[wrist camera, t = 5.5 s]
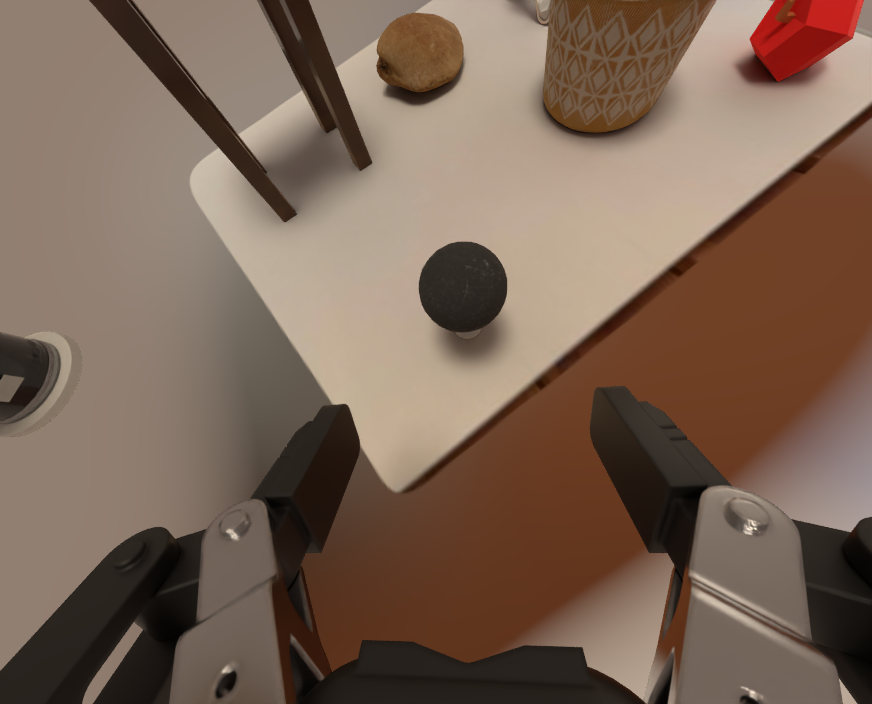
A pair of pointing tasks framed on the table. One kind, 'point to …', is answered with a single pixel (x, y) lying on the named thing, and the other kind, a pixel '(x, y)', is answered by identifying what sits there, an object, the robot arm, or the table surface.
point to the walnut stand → (309, 63)
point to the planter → (614, 57)
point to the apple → (803, 33)
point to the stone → (419, 52)
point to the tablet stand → (543, 10)
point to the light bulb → (463, 288)
